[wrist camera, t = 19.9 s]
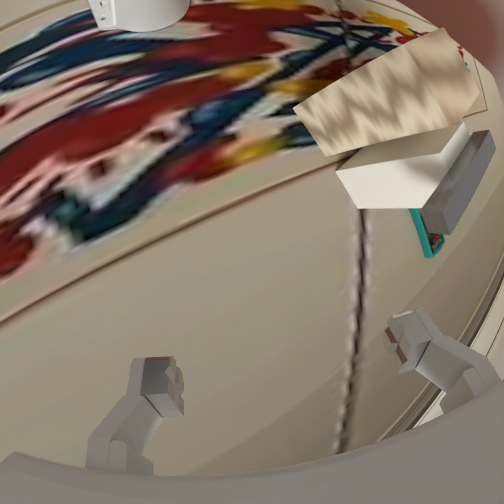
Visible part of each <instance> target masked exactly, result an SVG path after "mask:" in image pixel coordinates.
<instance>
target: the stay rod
mask: <svg viewBox="0 0 504 504" xmlns="http://www.w3.org/2000/svg"><path fill="white" fill-rule="evenodd" d="M495 150H496V147H495V144H494V141H493V138H492V136H491V133H490V130H485V131H478V132H473V134H472V135H471V137H470V138H469V140H468V142H467V143H466V145H465V146H464V148H463V149H462V151H461V153H460V154H459V156H458V157H457V159H456V160H455V162H454V163H453V165H452V166H451V168H450V169H449V170H448V172H447V173H446V175H445V176H444V178H443V179H442V181H441V182H440V183H439V185H438V186H437V188H436V189H435V190H434V192H433V193H432V195H431V196H430V197H429V199H428V200H427V201H426V203H425V204H424V205H423V207H422V208H421V209H420V212H421V215H422V217H423V219H424V222H425V224H426V227H427V229H428V232H429V233H435V234H446V235H451V233H452V232H453V230H454V228H455V227H456V225H457V223H458V222H459V220H460V218H461V216H462V215H463V213H464V211H465V209H466V208H467V206H468V204H469V202H470V200H471V199H472V197H473V195H474V193H475V191H476V189H477V187H478V185H479V183H480V181H481V179H482V177H483V175H484V173H485V171H486V169H487V167H488V165H489V163H490V161H491V159H492V156H493V154H494V152H495Z"/></svg>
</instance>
